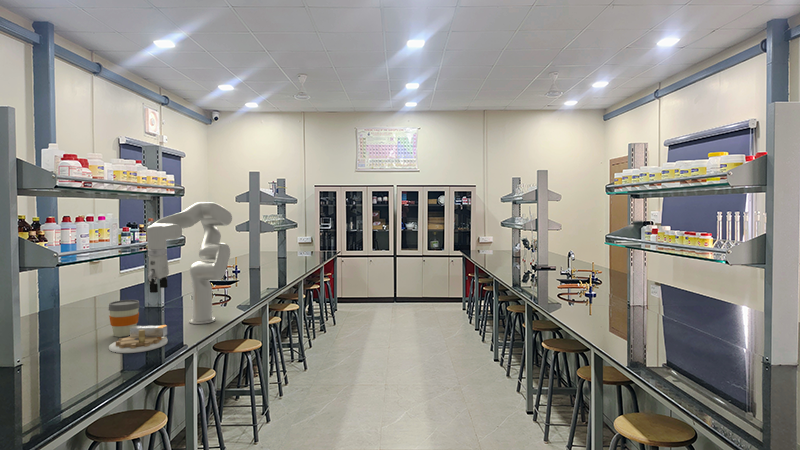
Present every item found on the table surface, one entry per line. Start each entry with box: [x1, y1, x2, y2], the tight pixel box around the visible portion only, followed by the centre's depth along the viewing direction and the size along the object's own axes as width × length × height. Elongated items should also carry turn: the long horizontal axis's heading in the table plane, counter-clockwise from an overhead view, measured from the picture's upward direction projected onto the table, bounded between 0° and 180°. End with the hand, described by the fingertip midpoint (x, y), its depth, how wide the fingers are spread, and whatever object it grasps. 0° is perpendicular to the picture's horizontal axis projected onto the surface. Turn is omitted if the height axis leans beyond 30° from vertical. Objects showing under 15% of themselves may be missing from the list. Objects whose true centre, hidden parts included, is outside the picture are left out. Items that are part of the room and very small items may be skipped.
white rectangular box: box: [130, 324, 168, 337], centre depth 200 cm, size 4×14×4 cm, turn 95°
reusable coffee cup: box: [108, 299, 140, 338], centre depth 212 cm, size 13×13×15 cm
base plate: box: [108, 336, 168, 354], centre depth 196 cm, size 22×22×2 cm
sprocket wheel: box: [115, 330, 162, 348], centre depth 195 cm, size 17×17×6 cm
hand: (158, 289), depth 204 cm, fingers open, 9 cm apart
